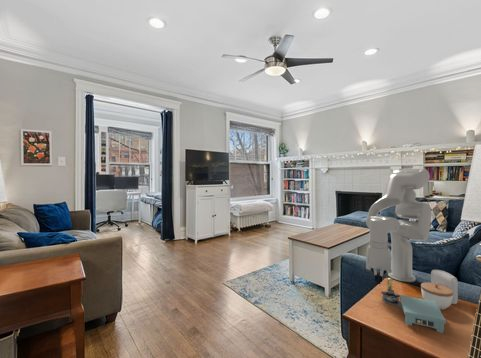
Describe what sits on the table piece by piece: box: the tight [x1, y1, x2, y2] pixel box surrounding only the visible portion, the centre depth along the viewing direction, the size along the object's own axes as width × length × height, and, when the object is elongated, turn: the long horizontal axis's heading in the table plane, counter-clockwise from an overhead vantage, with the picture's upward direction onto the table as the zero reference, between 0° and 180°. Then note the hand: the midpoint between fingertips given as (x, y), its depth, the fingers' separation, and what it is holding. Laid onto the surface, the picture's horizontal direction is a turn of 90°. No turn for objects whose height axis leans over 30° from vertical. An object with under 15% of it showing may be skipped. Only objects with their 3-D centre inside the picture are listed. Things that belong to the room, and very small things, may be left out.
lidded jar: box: [420, 282, 453, 311], centre depth 102 cm, size 11×11×9 cm
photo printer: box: [430, 269, 459, 305], centre depth 108 cm, size 10×4×12 cm, turn 9°
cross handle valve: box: [380, 277, 401, 303], centre depth 107 cm, size 10×7×7 cm
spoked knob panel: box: [381, 294, 447, 334], centre depth 97 cm, size 22×18×5 cm
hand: (378, 282), depth 113 cm, fingers closed
